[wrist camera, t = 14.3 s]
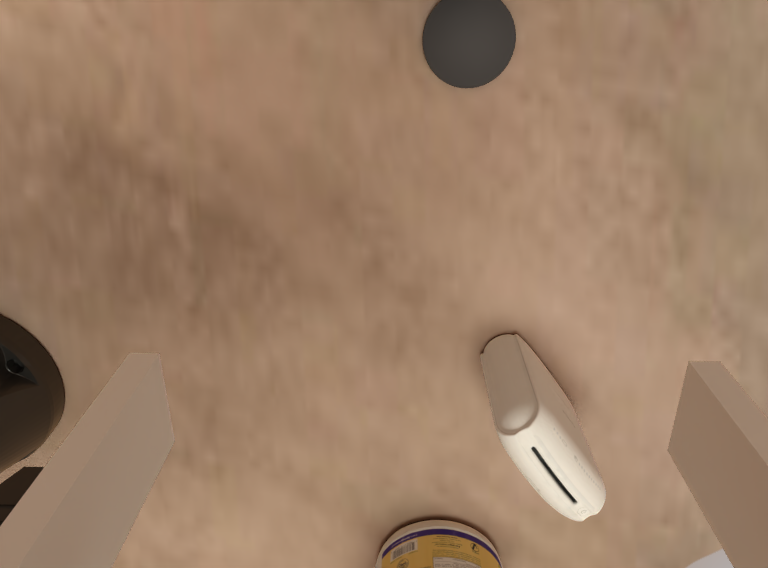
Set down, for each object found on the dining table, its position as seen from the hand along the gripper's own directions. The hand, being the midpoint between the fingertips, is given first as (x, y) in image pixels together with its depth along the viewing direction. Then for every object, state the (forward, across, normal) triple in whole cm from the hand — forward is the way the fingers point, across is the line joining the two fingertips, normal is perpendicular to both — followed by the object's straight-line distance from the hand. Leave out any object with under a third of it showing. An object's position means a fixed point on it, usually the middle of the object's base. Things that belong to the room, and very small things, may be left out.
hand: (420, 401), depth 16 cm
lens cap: (+32, +4, +6) cm, 33 cm away
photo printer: (+32, +10, -20) cm, 39 cm away
